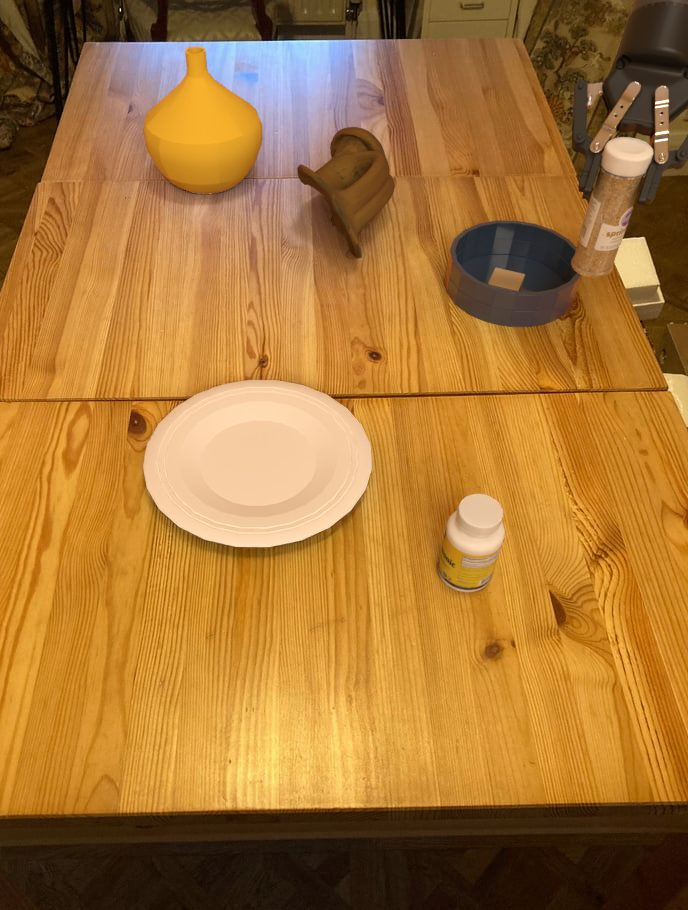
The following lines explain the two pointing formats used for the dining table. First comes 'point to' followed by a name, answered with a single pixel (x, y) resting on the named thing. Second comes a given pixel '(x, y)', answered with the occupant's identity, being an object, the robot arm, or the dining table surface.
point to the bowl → (517, 251)
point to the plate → (257, 463)
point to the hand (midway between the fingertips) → (613, 201)
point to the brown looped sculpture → (353, 182)
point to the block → (507, 280)
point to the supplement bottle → (472, 543)
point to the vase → (202, 132)
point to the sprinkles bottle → (611, 205)
